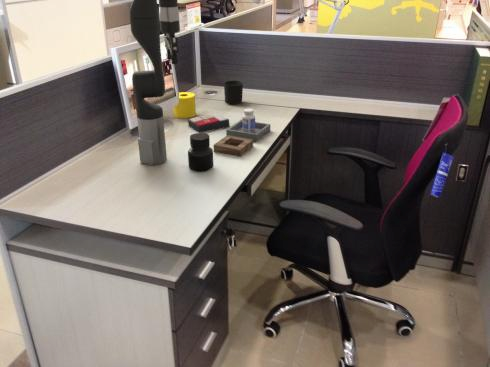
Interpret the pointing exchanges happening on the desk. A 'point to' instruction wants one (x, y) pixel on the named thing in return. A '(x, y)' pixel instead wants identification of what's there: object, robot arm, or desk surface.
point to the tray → (237, 131)
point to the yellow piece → (185, 105)
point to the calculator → (208, 122)
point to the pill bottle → (248, 121)
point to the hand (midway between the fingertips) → (172, 61)
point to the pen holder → (233, 92)
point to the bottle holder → (233, 145)
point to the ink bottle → (200, 153)
